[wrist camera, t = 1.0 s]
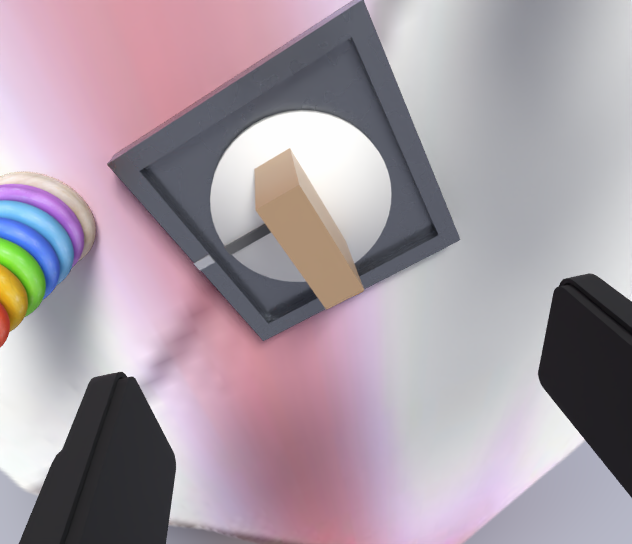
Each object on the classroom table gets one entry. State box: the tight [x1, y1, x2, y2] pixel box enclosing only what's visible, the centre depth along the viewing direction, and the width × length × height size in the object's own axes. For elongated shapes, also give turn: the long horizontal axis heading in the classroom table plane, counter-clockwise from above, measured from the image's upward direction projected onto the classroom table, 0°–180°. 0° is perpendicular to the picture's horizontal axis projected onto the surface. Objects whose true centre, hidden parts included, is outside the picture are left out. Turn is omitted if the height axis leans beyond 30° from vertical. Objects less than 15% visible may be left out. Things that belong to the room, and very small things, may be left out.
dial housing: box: [107, 0, 460, 341], centre depth 34 cm, size 20×20×2 cm
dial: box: [210, 110, 391, 310], centre depth 31 cm, size 14×14×8 cm
